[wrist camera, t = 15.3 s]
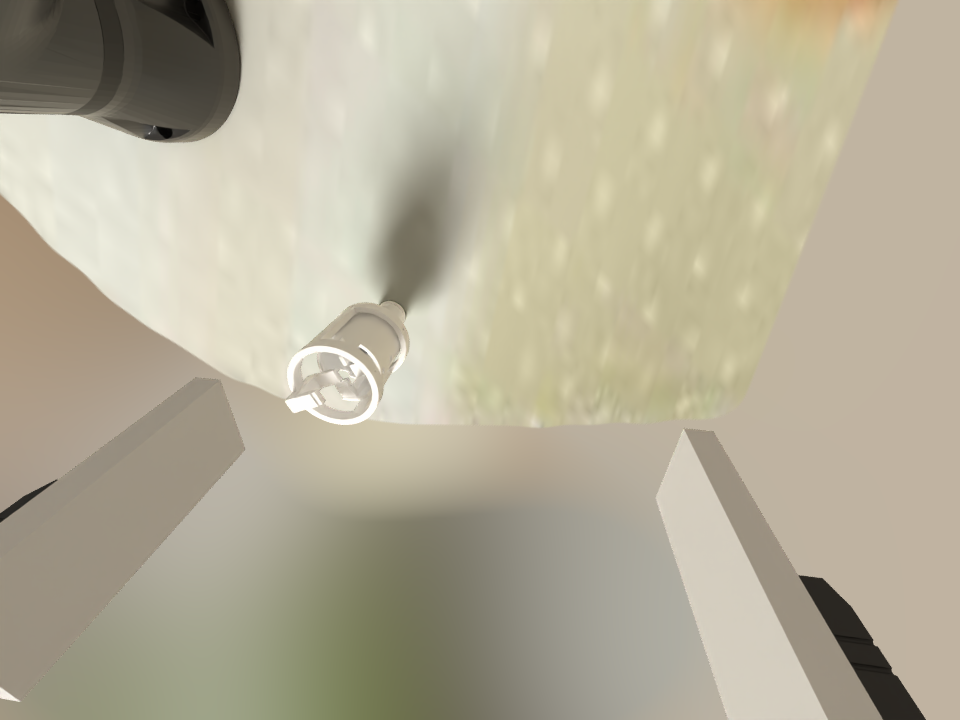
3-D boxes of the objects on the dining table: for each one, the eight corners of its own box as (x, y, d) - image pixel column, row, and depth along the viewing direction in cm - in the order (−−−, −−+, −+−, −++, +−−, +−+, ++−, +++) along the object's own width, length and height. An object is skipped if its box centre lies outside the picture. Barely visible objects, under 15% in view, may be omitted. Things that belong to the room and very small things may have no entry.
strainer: (346, 295, 41) (259, 369, 28) (404, 272, 39) (339, 341, 26) (379, 351, 44) (313, 442, 31) (435, 333, 42) (390, 422, 29)
